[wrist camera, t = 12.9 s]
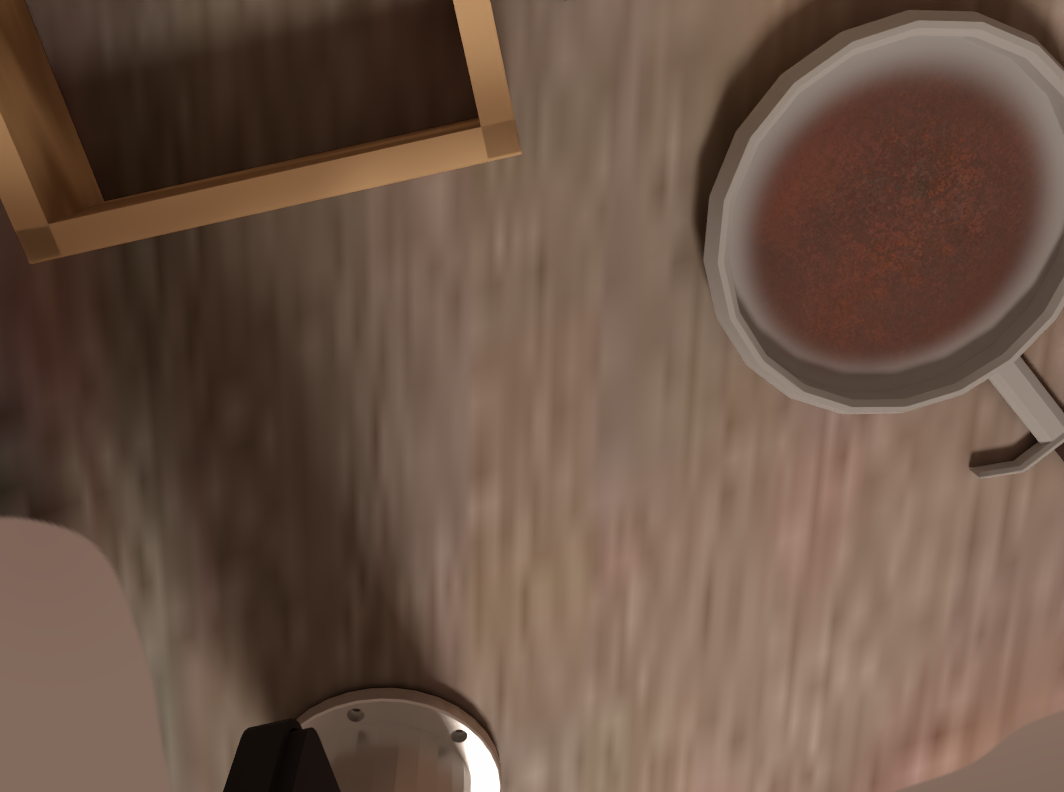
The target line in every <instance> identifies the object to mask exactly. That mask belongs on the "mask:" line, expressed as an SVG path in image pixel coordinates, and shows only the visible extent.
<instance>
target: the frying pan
mask: <svg viewBox="0 0 1064 792" xmlns="http://www.w3.org/2000/svg"><path fill="white" fill-rule="evenodd" d="M703 261H704V266H705V270H706V274H707V279H708V283H709V288H710V292H711V296H712V301H713V305H714V309H715V314H716V318H717V320H718V322H719V323H720V325H721V326H722V328H723V329H724V331H725V332H726V334H727V336H728V337H729V339H730V340H731V342H732V343H733V345H734V347H735V348H736V350H737V351H738V353H739V354H740V356H741V357H742V359H743V361H744V362H745V364H746V365H747V366H748V367H749V368H751V369H752V370H753V371H755V372H756V373H757V374H759V375H760V376H761V377H763V378H764V379H765V380H767V381H768V382H769V383H771V384H772V385H773V386H775V387H776V388H777V389H778V390H780V391H781V392H782V393H784V394H785V395H786V396H788V397H789V398H792V399H795V400H798V401H801V402H804V403H808V404H811V405H814V406H817V407H820V408H824V409H827V410H830V411H833V412H836V413H840V414H888V413H903V412H908V411H911V410H914V409H917V408H921V407H924V406H927V405H931V404H934V403H937V402H941V401H944V400H947V399H951V398H954V397H957V396H960V395H963V394H964V393H966V392H967V391H969V390H971V389H972V388H974V387H976V386H977V385H979V384H980V383H982V382H984V381H985V380H987V379H989V380H990V381H991V383H992V384H993V385H994V387H995V388H996V389H997V390H998V392H999V393H1000V394H1001V395H1002V397H1003V398H1004V399H1005V400H1006V402H1007V403H1008V404H1009V405H1010V407H1011V408H1012V409H1013V410H1014V412H1015V413H1016V414H1017V415H1018V417H1019V418H1020V419H1021V420H1022V422H1023V423H1024V424H1025V425H1026V427H1027V428H1028V429H1029V430H1030V432H1031V433H1032V434H1033V435H1034V437H1035V438H1036V439H1037V440H1038V442H1037V443H1036V444H1035V445H1033V446H1032V447H1031V448H1029V449H1028V450H1027V451H1026V452H1024V453H1023V454H1022V455H1020V456H1019V457H1018V458H1016V459H1015V460H1014V461H1010V462H1004V463H998V464H992V465H985V466H979V467H974V468H971V469H970V470H971V471H972V472H973V473H974V474H976V475H977V476H978V477H979V478H980V479H982V478H989V477H995V476H1002V475H1009V474H1015V473H1022V472H1025V471H1027V470H1028V469H1029V468H1031V467H1032V466H1033V465H1035V464H1036V463H1037V462H1039V461H1040V460H1041V459H1043V458H1044V457H1045V456H1046V455H1048V454H1049V453H1050V452H1052V451H1053V450H1055V451H1056V452H1057V453H1058V455H1059V456H1060V457H1061V458H1062V460H1063V461H1064V413H1063V411H1062V410H1061V409H1060V407H1059V406H1058V405H1057V403H1056V402H1055V401H1054V400H1053V398H1052V397H1051V396H1050V394H1049V393H1048V392H1047V391H1046V389H1045V388H1044V387H1043V385H1042V384H1041V383H1040V381H1039V380H1038V379H1037V378H1036V376H1035V375H1034V374H1033V372H1032V371H1031V370H1030V369H1029V367H1028V366H1027V365H1026V363H1025V362H1024V361H1023V359H1022V358H1021V357H1020V356H1021V355H1022V354H1023V353H1024V352H1025V351H1026V349H1027V348H1028V347H1029V346H1030V345H1031V344H1032V343H1033V342H1034V341H1035V340H1036V339H1037V338H1038V337H1039V336H1040V335H1041V334H1042V333H1043V332H1044V331H1045V330H1046V329H1047V328H1048V327H1049V326H1050V325H1051V324H1052V323H1053V322H1054V321H1055V320H1056V319H1057V317H1058V315H1059V313H1060V312H1061V310H1062V308H1063V306H1064V67H1063V66H1062V65H1061V64H1060V63H1059V62H1058V61H1057V60H1056V59H1055V58H1054V57H1053V56H1052V55H1051V54H1050V53H1049V52H1048V51H1047V50H1046V49H1045V48H1044V47H1043V46H1042V45H1041V44H1040V43H1039V42H1038V41H1037V39H1036V38H1035V37H1034V36H1032V35H1030V34H1027V33H1025V32H1023V31H1020V30H1018V29H1015V28H1013V27H1011V26H1008V25H1006V24H1004V23H1001V22H999V21H997V20H994V19H992V18H990V17H987V16H985V15H983V14H980V13H978V12H976V11H936V10H907V11H903V12H900V13H897V14H894V15H891V16H888V17H885V18H882V19H879V20H876V21H873V22H870V23H867V24H863V25H860V26H857V27H854V28H851V29H848V30H845V31H842V32H840V33H839V34H837V35H836V36H834V37H833V38H832V39H830V40H829V41H827V42H826V43H825V44H823V45H822V46H820V47H819V48H818V49H816V50H815V51H813V52H812V53H810V54H809V55H808V56H806V57H805V58H803V59H802V60H801V61H799V62H798V63H796V64H795V65H794V66H792V67H791V68H789V69H788V70H787V71H785V72H784V73H782V74H781V75H780V76H779V78H778V79H777V80H776V81H775V83H774V84H773V85H772V87H771V88H770V89H769V90H768V92H767V93H766V94H765V95H764V97H763V98H762V99H761V100H760V102H759V103H758V104H757V105H756V107H755V108H754V109H753V110H752V112H751V113H750V114H749V116H748V117H747V118H746V119H745V121H744V122H743V123H742V124H741V126H740V127H739V128H738V129H737V131H736V132H735V135H734V137H733V140H732V142H731V145H730V147H729V149H728V152H727V154H726V157H725V159H724V162H723V164H722V167H721V169H720V171H719V174H718V176H717V179H716V181H715V184H714V186H713V189H712V191H711V193H710V196H709V206H708V216H707V227H706V237H705V248H704V259H703Z"/></svg>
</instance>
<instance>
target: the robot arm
mask: <svg viewBox="0 0 1064 792" xmlns="http://www.w3.org/2000/svg"><path fill="white" fill-rule="evenodd" d="M501 789H502V778H501V764H500V761H499V757H498V754H497V751H496V748H495V746H494V744H493V742H492V741H491V739H490V737H489V735H488V734H487V732H486V731H485V730H484V729H483V728H482V727H481V726H480V724H479V723H478V722H477V721H476V720H475V719H474V718H473V717H471V716H470V715H469V714H467V713H466V712H464V711H463V710H462V709H460V708H459V707H458V706H456V705H454V704H451V703H449V702H447V701H445V700H443V699H441V698H439V697H436V696H433V695H429V694H426V693H423V692H419V691H414V690H407V689H399V688H370V689H364V690H358V691H353V692H347V693H344V694H342V695H339V696H336V697H333V698H330V699H327V700H325V701H323V702H321V703H320V704H318V705H316V706H314V707H312V708H310V709H309V710H307V711H306V712H305V713H303V714H302V715H301V716H300V717H298V718H297V719H287V720H282V721H278V722H273V723H269V724H264V725H259V726H255V727H250V728H248V729H246V730H245V731H244V733H243V735H242V737H241V739H240V742H239V745H238V748H237V751H236V754H235V757H234V760H233V763H232V766H231V769H230V772H229V775H228V778H227V781H226V784H225V787H224V790H223V792H501Z"/></svg>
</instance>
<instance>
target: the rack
mask: <svg viewBox="0 0 1064 792" xmlns="http://www.w3.org/2000/svg"><path fill="white" fill-rule="evenodd" d="M453 3H454V7H455V12H456V16H457V21H458V25H459V30H460V34H461V39H462V43H463V48H464V52H465V57H466V61H467V66H468V70H469V75H470V79H471V84H472V88H473V93H474V97H475V102H476V106H477V111H478V115H479V117H478V118H474V119H469V120H465V121H461V122H456V123H452V124H447V125H443V126H438V127H434V128H429V129H425V130H420V131H416V132H412V133H407V134H403V135H398V136H394V137H389V138H385V139H380V140H376V141H372V142H367V143H363V144H358V145H354V146H349V147H345V148H340V149H336V150H332V151H327V152H323V153H318V154H314V155H309V156H305V157H300V158H296V159H292V160H287V161H283V162H278V163H274V164H269V165H265V166H260V167H256V168H252V169H247V170H243V171H238V172H234V173H229V174H225V175H220V176H216V177H212V178H207V179H203V180H198V181H194V182H189V183H185V184H180V185H176V186H171V187H167V188H163V189H158V190H154V191H149V192H145V193H140V194H136V195H131V196H127V197H123V198H118V199H114V200H109V201H105V202H104V199H103V197H102V194H101V192H100V189H99V187H98V184H97V182H96V179H95V177H94V174H93V172H92V169H91V167H90V164H89V162H88V159H87V157H86V154H85V151H84V149H83V146H82V144H81V141H80V139H79V136H78V134H77V131H76V129H75V126H74V124H73V121H72V119H71V116H70V114H69V111H68V109H67V106H66V104H65V101H64V99H63V96H62V94H61V91H60V89H59V86H58V84H57V81H56V79H55V76H54V73H53V71H52V68H51V66H50V63H49V61H48V58H47V56H46V53H45V51H44V48H43V46H42V43H41V41H40V38H39V36H38V33H37V31H36V28H35V26H34V23H33V21H32V18H31V16H30V13H29V11H28V8H27V6H26V3H25V1H24V0H0V199H1V201H2V203H3V205H4V208H5V210H6V212H7V214H8V217H9V219H10V221H11V223H12V226H13V228H14V230H15V233H16V235H17V237H18V239H19V242H20V244H21V246H22V248H23V251H24V253H25V255H26V257H27V260H28V262H29V264H34V263H38V262H43V261H47V260H52V259H56V258H61V257H65V256H70V255H74V254H79V253H83V252H88V251H92V250H96V249H101V248H105V247H110V246H114V245H119V244H123V243H128V242H132V241H137V240H141V239H146V238H150V237H154V236H159V235H163V234H168V233H172V232H177V231H181V230H186V229H190V228H195V227H199V226H204V225H208V224H212V223H217V222H221V221H226V220H230V219H235V218H239V217H244V216H248V215H253V214H257V213H262V212H266V211H270V210H275V209H279V208H284V207H288V206H293V205H297V204H302V203H306V202H311V201H315V200H320V199H324V198H328V197H333V196H337V195H342V194H346V193H351V192H355V191H360V190H364V189H369V188H373V187H377V186H382V185H386V184H391V183H395V182H400V181H404V180H409V179H413V178H418V177H422V176H427V175H431V174H435V173H440V172H444V171H449V170H453V169H458V168H462V167H467V166H471V165H476V164H480V163H485V162H489V161H493V160H498V159H502V158H507V157H511V156H516V155H520V154H522V153H521V148H520V143H519V138H518V133H517V129H516V124H515V119H514V114H513V109H512V104H511V100H510V95H509V90H508V85H507V80H506V75H505V70H504V66H503V61H502V56H501V51H500V46H499V41H498V37H497V32H496V27H495V22H494V17H493V12H492V8H491V3H490V0H453Z"/></svg>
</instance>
